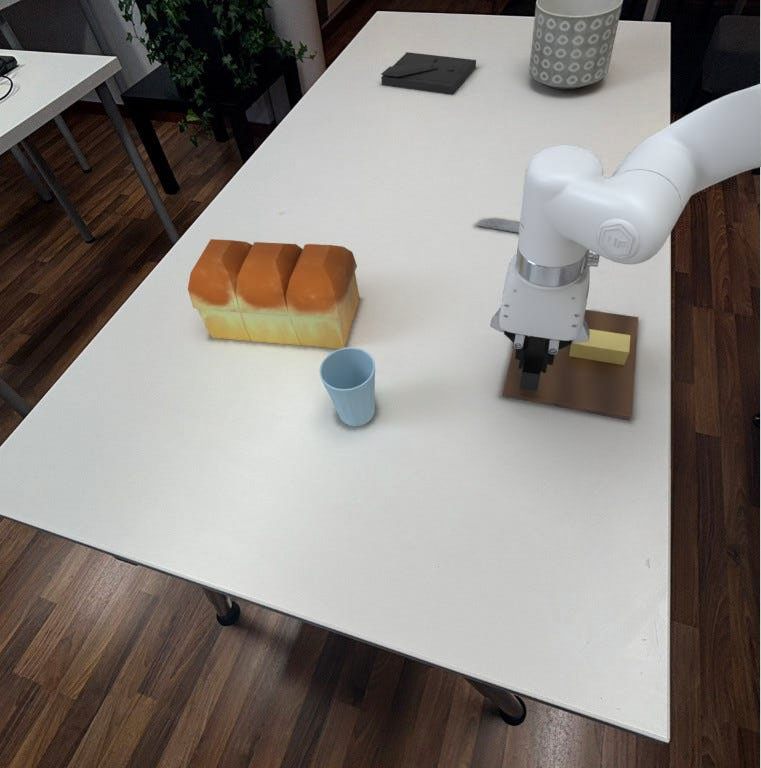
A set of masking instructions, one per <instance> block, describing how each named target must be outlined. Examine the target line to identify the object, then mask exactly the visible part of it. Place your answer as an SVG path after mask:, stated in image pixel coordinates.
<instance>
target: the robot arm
mask: <svg viewBox="0 0 761 768" xmlns="http://www.w3.org/2000/svg"><path fill="white" fill-rule="evenodd" d="M759 168H761V83H758V84H756V85H752V86H749V87H746V88H744V89H740V90H737V91H734V92H730V93H728V94H726V95H723V96H720V97H719V98H717V99H714V100H712V101H710V102H708V103H706V104H704V105H702V106H701V107H699V108H697V109H695V110H693V111H692V112H690V113H688V114H686V115H684V116H682V117H681V118H680V119H678V120H676V121H674V122H672V123H671V124H669V125H667V126H666V127H664V128H662V129H660V130H658V131H657V132H655V133H654V134H652V135H650V136H649V137H647V138H645V139H644V140H643V141H642V142H640V143H639V144H637V145H636V146H635V147H633V149H632V150H631V151H630V152H629V153H627V155H626V156H625V157H624V158H623V160H622V161H621V162H620V164H619V165H618V167H616V169H615V171H614V172H613V173H612V175H611V176H609V177H606V176H605V175H604V173H605V172H604V165H603V162H602V160H601V159H600V156H598V155H597V154H596V153H595V152H593V151H592V150H590V149H588V148H586V147H583V146H580V145H574V144H559V145H558V144H556V145H552V146H548V147H546V148H544V149H542V150H540V151H538V152H537V153H535V154H534V155H533V156H532V157H531V158H530V160H529V162H528V164H527V165H526V168H525V171H524V172H525V173H524V177H523V187H522V188H523V189H522V199H521V209H520V218H519V220H520V221H519V222H520V228H519V233H518V238H517V239H518V240H517V248H516V249H517V250H516V254H514V255H513V256H512V257H511V259H510V261H509V264H508V268H507V271H506V275H505V279H504V283H503V284H504V285H503V289H502V294H501V295H502V297H501V302H500V307H499V308H498V309H497V311H496V312H495V314H493V315H492V317H491V320H490V324H489V326H490V328H492V329H494V330H496V331H498V332H500V333H503V334H504V336H505V337H506V338H507V339H508V340H510V342H512V343H513V347H515V348H516V354H515V359H517V360H520V361H519V368H518V369H522V367H523V363H524V358H525V355H526V351H527V347H528V342H529V336H534V337H541V338H548V339H547V340H546V345H545V350H544V356H543V364H542V369H541V371H542V373H546V369H547V365H553V361H554V356H555V354H557V353H558V350H560V349H562V348H564V347H567V346H569V345H571V344H572V343H581V342H587V341H589V338H590V331H589V328H588V326H587V323H586V321H585V318H584V315H585V310H587V303H588V299H589V298H588V297H589V293H590V292H589V291H590V282H591V270H590V269H591V267H595V268H598V266H599V262H600V258H601V257H602V258H603V259H606V260H608V261H611V262H613V263H617V264H621V265H629V266H630V265H631V266H632V265H639V264H643V263H645V262H647V261H649V260H651V259H652V258H654V256H656V255H657V254H658V253H659V252H660V251H661V249H662V248H663V247H664V245H665V243H666V242H667V240H668V238H669V236H670V234H671V233H672V232H673V231H672V230H673V229H674V228H675V225H676V224H677V222H678V221H679V218H680V216H681V214H682V213H683V211H684V209H685V207H686V205H687V204H688V202H689V200H690V199H691V197H692V196H694V195H695V194H697V193H699V192H701V191H703V190H705V189H707V188H709V187H712V186H714V185H715V184H718V183H720V182H723V181H725V180H727V179H729V178H732V177H734V176H736V175H738V174H742V173H744V172H747V171H750V170H754V169H759Z"/></svg>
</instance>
